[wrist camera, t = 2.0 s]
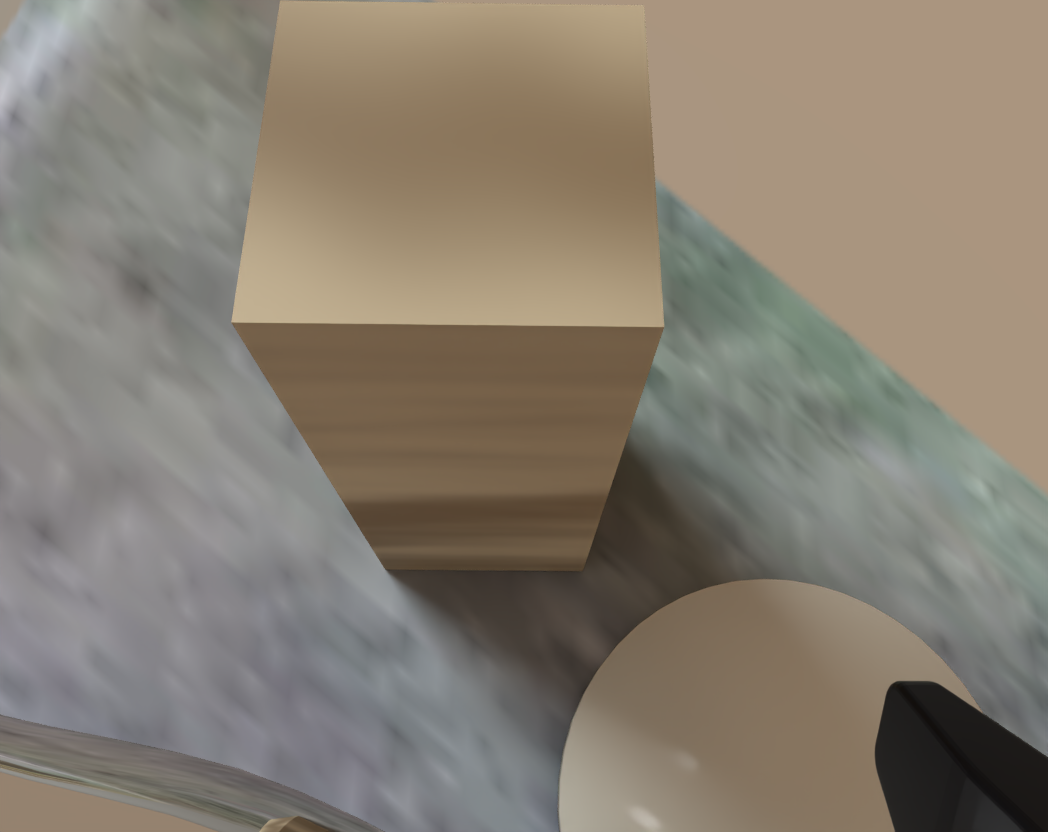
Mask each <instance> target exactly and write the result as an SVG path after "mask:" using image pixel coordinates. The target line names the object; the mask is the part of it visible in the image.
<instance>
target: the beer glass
mask: <svg viewBox="0 0 1048 832" xmlns="http://www.w3.org/2000/svg"><path fill="white" fill-rule="evenodd" d="M0 832H385V831H383V830H381V829H379V828H377V827H375V826H373V825H371V824H369V823H367V822H365V821H363V820H361V819H359V818H357V817H355V816H353V815H351V814H349V813H347V812H344V811H342V810H340V809H338V808H336V807H333V806H331V805H329V804H327V803H325V802H322V801H320V800H318V799H316V798H314V797H311V796H309V795H307V794H305V793H303V792H300V791H298V790H295V789H292V788H290V787H287V786H284V785H282V784H279V783H276V782H274V781H271V780H268V779H266V778H263V777H260V776H258V775H255V774H252V773H250V772H247V771H244V770H242V769H238V768H235V767H231V766H227V765H223V764H220V763H216V762H212V761H208V760H205V759H201V758H197V757H193V756H190V755H186V754H182V753H178V752H175V751H170V750H165V749H161V748H156V747H151V746H146V745H142V744H137V743H132V742H127V741H123V740H118V739H113V738H108V737H103V736H98V735H93V734H88V733H83V732H77V731H72V730H67V729H62V728H57V727H52V726H47V725H43V724H39V723H34V722H30V721H25V720H21V719H17V718H12V717H8V716H4V715H1V714H0Z"/></svg>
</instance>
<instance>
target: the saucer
mask: <svg viewBox="0 0 1048 832" xmlns="http://www.w3.org/2000/svg"><path fill="white" fill-rule="evenodd" d="M896 681H932V682H936V683H938V684H940V685H942V686H943V687H945V688H946V689H948V690H949V691H951V692H952V693H954V694H955V695H957V696H958V697H960V698H961V699H962V700H964V701H965V702H967V703H968V704H970V705H971V706H973V707H974V708H976V709H977V710H979V711H980V712H982V711H981V709H980V708H979V706H978V705H977V703H976V702H975V700H974V699H973V697H972V696H971V694H970V693H969V692H968V690H967V689H966V687H965V686H964V684H963V683H962V682H961V681H960V680H959V678H958V677H957V676H956V675H955V674H954V672H953V671H952V670H951V669H950V668H949V667H948V665H947V664H946V663H945V662H944V661H943V660H942V659H941V658H940V657H939V656H938V655H937V654H936V653H935V652H934V651H933V650H932V649H931V648H930V647H929V646H928V645H926V644H925V643H924V642H923V641H922V640H921V639H920V638H919V637H917V636H916V635H915V634H913V633H912V632H911V631H909V630H908V629H907V628H906V627H904V626H903V625H902V624H900V623H899V622H898V621H896V620H895V619H893V618H891V617H890V616H888V615H886V614H884V613H883V612H881V611H879V610H878V609H876V608H874V607H873V606H871V605H869V604H867V603H864V602H862V601H860V600H858V599H855V598H853V597H851V596H849V595H846V594H844V593H841V592H838V591H834V590H831V589H828V588H825V587H821V586H818V585H813V584H808V583H802V582H796V581H791V580H774V579H755V580H743V581H733V582H729V583H724V584H720V585H715V586H711V587H707V588H704V589H702V590H699V591H696V592H694V593H691V594H688V595H686V596H683V597H681V598H679V599H677V600H676V601H674V602H672V603H670V604H668V605H666V606H664V607H663V608H661V609H659V610H658V611H656V612H655V613H654V614H652V615H651V616H649V617H648V618H647V619H645V620H644V621H643V622H641V623H640V624H639V625H637V626H636V627H635V628H634V629H633V630H632V631H631V632H630V633H629V634H628V635H627V636H626V637H625V638H624V639H623V640H622V641H621V642H620V643H619V644H618V645H617V646H616V647H615V649H614V650H613V651H612V652H611V654H610V655H609V656H608V658H607V659H606V660H605V661H604V663H603V664H602V665H601V666H600V668H599V669H598V670H597V672H596V673H595V675H594V676H593V678H592V680H591V681H590V683H589V685H588V687H587V688H586V690H585V692H584V693H583V695H582V697H581V699H580V702H579V704H578V706H577V709H576V711H575V713H574V716H573V718H572V721H571V723H570V727H569V730H568V734H567V737H566V741H565V744H564V748H563V752H562V759H561V766H560V772H559V779H558V808H557V812H558V823H559V832H895V830H894V827H893V824H892V821H891V817H890V814H889V811H888V807H887V804H886V801H885V797H884V794H883V791H882V787H881V784H880V781H879V777H878V774H877V770H876V765H875V743H876V738H877V734H878V729H879V724H880V720H881V715H882V710H883V706H884V701H885V696H886V693H887V690H888V688H889V687H890V685H891V684H892V683H894V682H896ZM982 713H983V712H982Z"/></svg>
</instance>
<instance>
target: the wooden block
mask: <svg viewBox="0 0 1048 832" xmlns="http://www.w3.org/2000/svg"><path fill="white" fill-rule="evenodd" d="M231 323H232V324H233V326H234V327H235V329H236V331H237V332H238V334H239V335H240V337H241V339H242V340H243V342H244V343H245V345H246V347H247V348H248V350H249V351H250V353H251V355H252V356H253V358H254V360H255V361H256V363H257V364H258V366H259V368H260V369H261V371H262V372H263V374H264V376H265V377H266V379H267V380H268V382H269V384H270V385H271V387H272V388H273V390H274V392H275V393H276V395H277V396H278V398H279V400H280V401H281V403H282V405H283V406H284V408H285V409H286V411H287V413H288V414H289V416H290V417H291V419H292V421H293V422H294V424H295V425H296V427H297V429H298V430H299V432H300V433H301V435H302V437H303V438H304V440H305V442H306V443H307V445H308V446H309V448H310V450H311V451H312V453H313V454H314V456H315V458H316V459H317V461H318V462H319V464H320V466H321V467H322V469H323V470H324V472H325V474H326V475H327V477H328V478H329V480H330V482H331V483H332V485H333V487H334V488H335V490H336V491H337V493H338V495H339V496H340V498H341V499H342V501H343V503H344V504H345V506H346V507H347V509H348V511H349V512H350V514H351V515H352V517H353V519H354V520H355V522H356V523H357V525H358V527H359V528H360V530H361V532H362V533H363V535H364V536H365V538H366V540H367V541H368V543H369V544H370V546H371V548H372V549H373V551H374V552H375V554H376V556H377V557H378V559H379V560H380V562H381V564H382V565H383V567H384V568H385V570H496V571H583V569H584V566H585V563H586V560H587V557H588V554H589V551H590V548H591V545H592V542H593V539H594V536H595V533H596V530H597V527H598V524H599V521H600V518H601V515H602V512H603V509H604V506H605V503H606V500H607V497H608V494H609V491H610V488H611V485H612V482H613V479H614V476H615V473H616V470H617V467H618V464H619V461H620V458H621V455H622V452H623V449H624V446H625V443H626V440H627V437H628V434H629V431H630V428H631V425H632V422H633V419H634V416H635V413H636V410H637V407H638V404H639V401H640V398H641V395H642V392H643V389H644V386H645V383H646V380H647V377H648V374H649V371H650V368H651V365H652V362H653V359H654V356H655V353H656V350H657V347H658V344H659V341H660V338H661V335H662V332H663V329H664V318H663V301H662V285H661V269H660V253H659V237H658V221H657V204H656V188H655V172H654V156H653V140H652V123H651V108H650V91H649V75H648V59H647V43H646V26H645V11H644V6H643V5H642V6H641V5H572V4H569V5H568V4H497V3H494V4H493V3H492V4H491V3H421V2H345V1H280V6H279V13H278V19H277V26H276V32H275V39H274V45H273V52H272V59H271V65H270V72H269V78H268V85H267V92H266V98H265V105H264V111H263V118H262V124H261V131H260V138H259V144H258V151H257V157H256V164H255V171H254V177H253V184H252V190H251V197H250V204H249V210H248V217H247V223H246V230H245V236H244V243H243V250H242V256H241V263H240V269H239V276H238V283H237V289H236V296H235V302H234V309H233V315H232V322H231Z"/></svg>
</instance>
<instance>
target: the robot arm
mask: <svg viewBox="0 0 1048 832" xmlns="http://www.w3.org/2000/svg"><path fill="white" fill-rule="evenodd" d="M875 765H876V770H877V774H878V777H879V781H880V784H881V787H882V791H883V794H884V797H885V801H886V804H887V807H888V811H889V814H890V817H891V821H892V824H893V827H894V830H895V832H1048V757H1047V756H1045V755H1044V754H1042V753H1041V752H1039V751H1038V750H1036V749H1035V748H1033V747H1032V746H1031V745H1029V744H1028V743H1026V742H1025V741H1023V740H1022V739H1020V738H1019V737H1017V736H1016V735H1014V734H1013V733H1011V732H1010V731H1008V730H1007V729H1005V728H1004V727H1002V726H1001V725H999V724H998V723H997V722H995V721H994V720H992V719H991V718H989V717H988V716H986V715H985V714H983V713H982V712H980V711H979V710H977V709H976V708H974V707H973V706H971V705H970V704H968V703H967V702H965V701H964V700H962V699H961V698H960V697H958V696H957V695H955V694H954V693H952V692H951V691H949V690H948V689H946V688H945V687H943V686H942V685H940V684H938V683H936V682H932V681H896V682H894V683H892V684H891V685H890V687H889V688H888V690H887V693H886V696H885V701H884V706H883V710H882V715H881V720H880V724H879V729H878V734H877V738H876V743H875Z"/></svg>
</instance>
